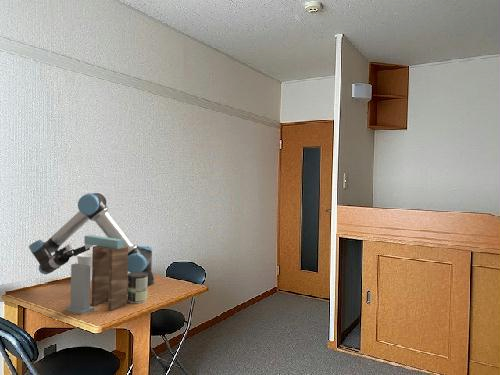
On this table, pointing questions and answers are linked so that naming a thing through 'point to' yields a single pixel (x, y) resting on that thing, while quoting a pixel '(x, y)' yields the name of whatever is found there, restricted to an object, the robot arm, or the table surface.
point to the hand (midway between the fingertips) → (81, 244)
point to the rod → (104, 241)
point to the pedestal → (80, 289)
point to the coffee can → (137, 287)
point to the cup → (86, 261)
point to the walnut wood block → (109, 277)
